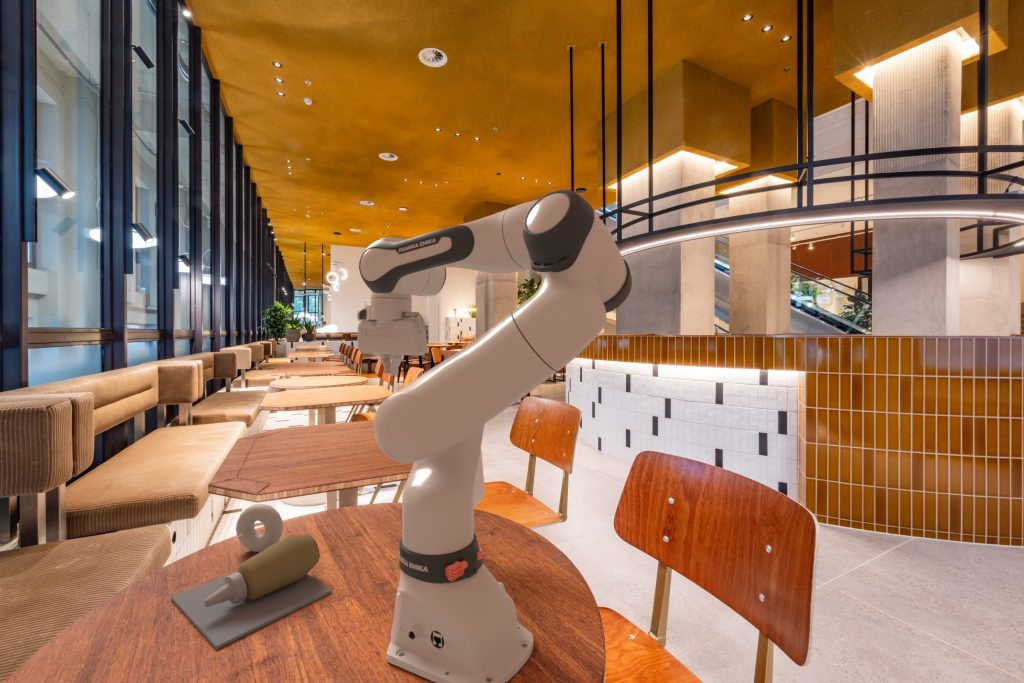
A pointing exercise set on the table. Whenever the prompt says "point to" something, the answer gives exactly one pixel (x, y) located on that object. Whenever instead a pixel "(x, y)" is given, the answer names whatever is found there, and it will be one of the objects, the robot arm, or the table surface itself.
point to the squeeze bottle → (269, 570)
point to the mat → (244, 608)
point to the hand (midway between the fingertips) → (391, 374)
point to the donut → (250, 536)
